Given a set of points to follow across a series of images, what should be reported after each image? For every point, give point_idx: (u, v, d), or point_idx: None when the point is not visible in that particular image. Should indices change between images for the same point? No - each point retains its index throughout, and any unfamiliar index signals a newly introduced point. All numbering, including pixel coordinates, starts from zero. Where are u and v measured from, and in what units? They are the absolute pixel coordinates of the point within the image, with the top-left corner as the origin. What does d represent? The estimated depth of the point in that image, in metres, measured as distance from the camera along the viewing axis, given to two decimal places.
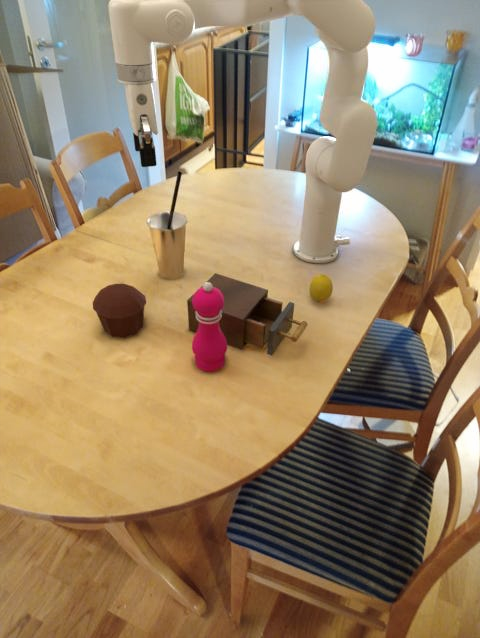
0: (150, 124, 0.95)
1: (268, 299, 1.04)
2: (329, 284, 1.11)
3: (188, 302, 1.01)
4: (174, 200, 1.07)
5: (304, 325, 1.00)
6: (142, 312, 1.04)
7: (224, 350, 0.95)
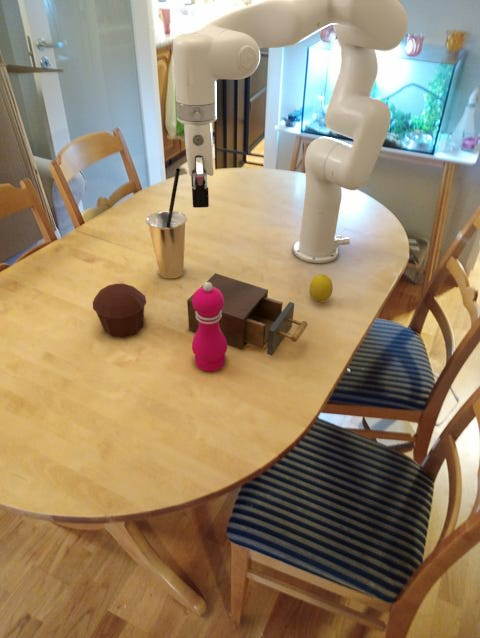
0: (205, 165, 0.90)
1: (268, 299, 1.04)
2: (329, 284, 1.11)
3: (188, 302, 1.01)
4: (173, 198, 1.08)
5: (304, 325, 1.00)
6: (142, 312, 1.04)
7: (224, 350, 0.95)
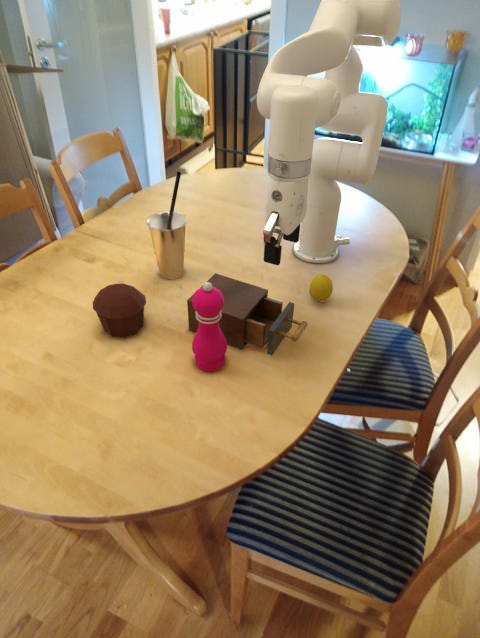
0: (280, 223, 0.83)
1: (268, 299, 1.04)
2: (329, 284, 1.11)
3: (188, 302, 1.01)
4: (173, 200, 1.07)
5: (304, 325, 1.00)
6: (142, 312, 1.04)
7: (224, 350, 0.95)
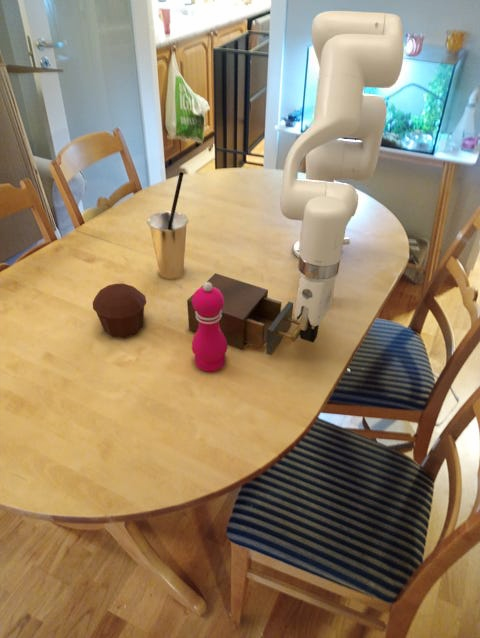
0: None
1: (267, 299, 1.04)
2: None
3: (188, 302, 1.01)
4: (175, 200, 1.07)
5: None
6: (142, 312, 1.04)
7: (224, 350, 0.95)
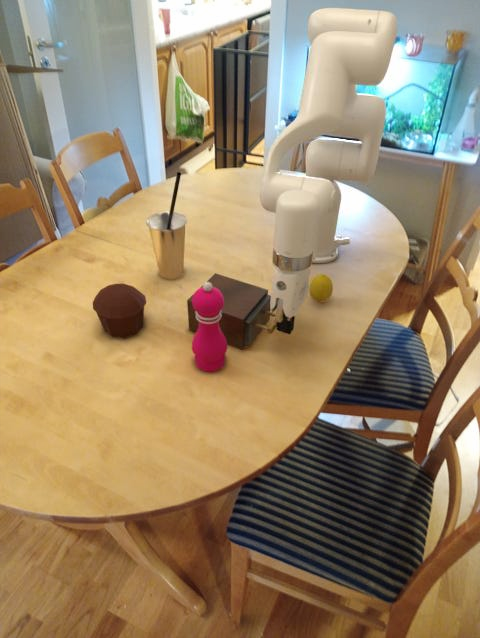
0: None
1: None
2: (329, 284, 1.11)
3: (188, 302, 1.01)
4: (173, 200, 1.07)
5: None
6: (142, 312, 1.04)
7: (224, 350, 0.95)
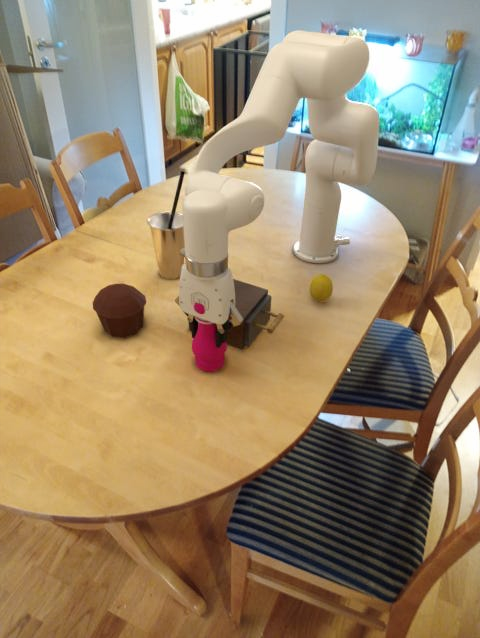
0: None
1: None
2: (329, 284, 1.11)
3: None
4: (176, 200, 1.07)
5: (280, 317, 1.02)
6: (142, 312, 1.04)
7: (224, 350, 0.95)
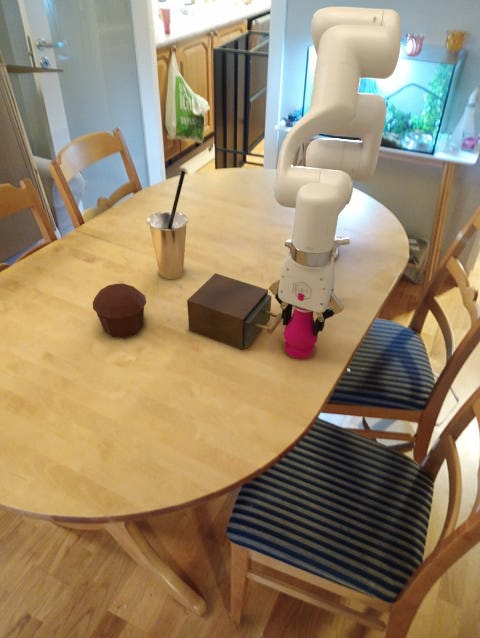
0: None
1: None
2: None
3: (188, 302, 1.01)
4: (176, 199, 1.07)
5: (280, 317, 1.02)
6: (142, 312, 1.04)
7: (316, 338, 0.98)
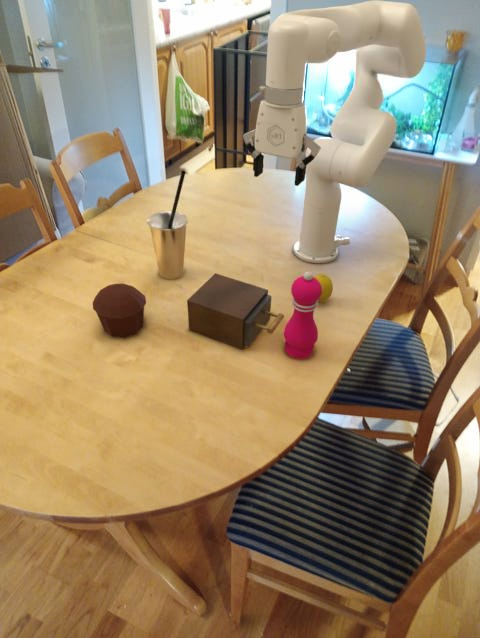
0: None
1: None
2: (329, 284, 1.11)
3: (188, 302, 1.01)
4: (176, 199, 1.08)
5: (280, 317, 1.02)
6: (142, 312, 1.04)
7: (316, 338, 0.98)
